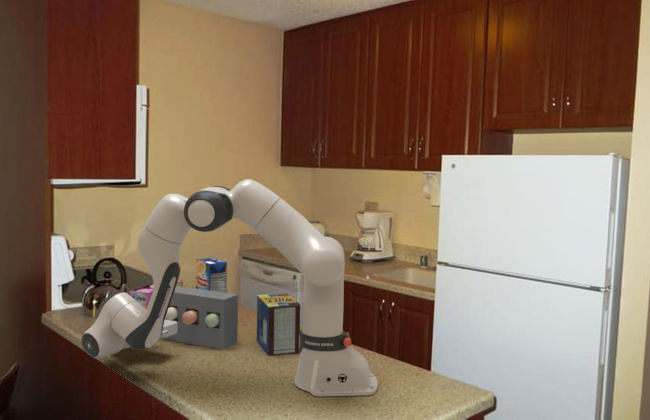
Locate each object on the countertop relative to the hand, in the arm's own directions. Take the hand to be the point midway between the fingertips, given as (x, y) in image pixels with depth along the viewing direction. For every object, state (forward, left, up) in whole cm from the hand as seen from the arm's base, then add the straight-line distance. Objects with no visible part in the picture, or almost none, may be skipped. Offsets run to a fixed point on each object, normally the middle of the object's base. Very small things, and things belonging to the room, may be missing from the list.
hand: (162, 318), depth 178 cm
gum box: (+11, -26, -9) cm, 30 cm away
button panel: (-10, -7, -9) cm, 15 cm away
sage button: (-16, -1, -2) cm, 16 cm away
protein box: (-36, -5, -9) cm, 37 cm away
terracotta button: (-8, -3, -2) cm, 9 cm away
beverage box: (-7, -32, -9) cm, 34 cm away
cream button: (-1, -7, -2) cm, 7 cm away
